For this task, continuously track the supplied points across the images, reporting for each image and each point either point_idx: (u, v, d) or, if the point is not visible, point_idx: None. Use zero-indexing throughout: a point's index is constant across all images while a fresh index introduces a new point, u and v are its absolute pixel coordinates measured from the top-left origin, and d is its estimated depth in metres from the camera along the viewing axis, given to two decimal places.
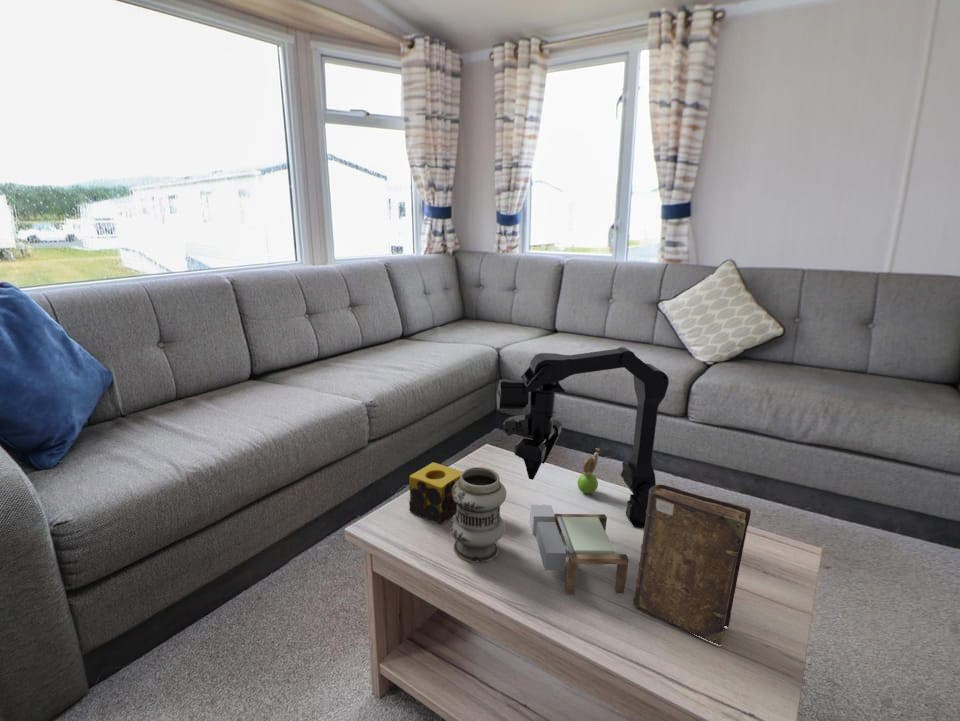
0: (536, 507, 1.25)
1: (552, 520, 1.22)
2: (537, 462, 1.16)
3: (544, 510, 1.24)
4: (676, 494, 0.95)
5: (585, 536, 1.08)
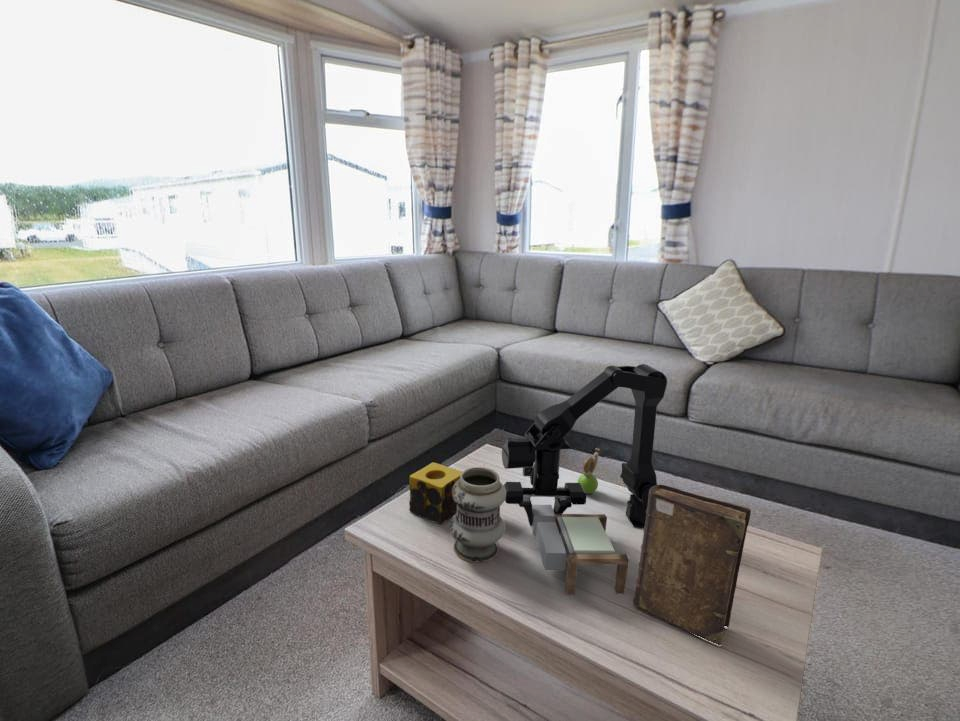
0: (536, 507, 1.25)
1: (552, 520, 1.22)
2: None
3: (544, 510, 1.23)
4: (676, 494, 0.95)
5: (585, 536, 1.08)
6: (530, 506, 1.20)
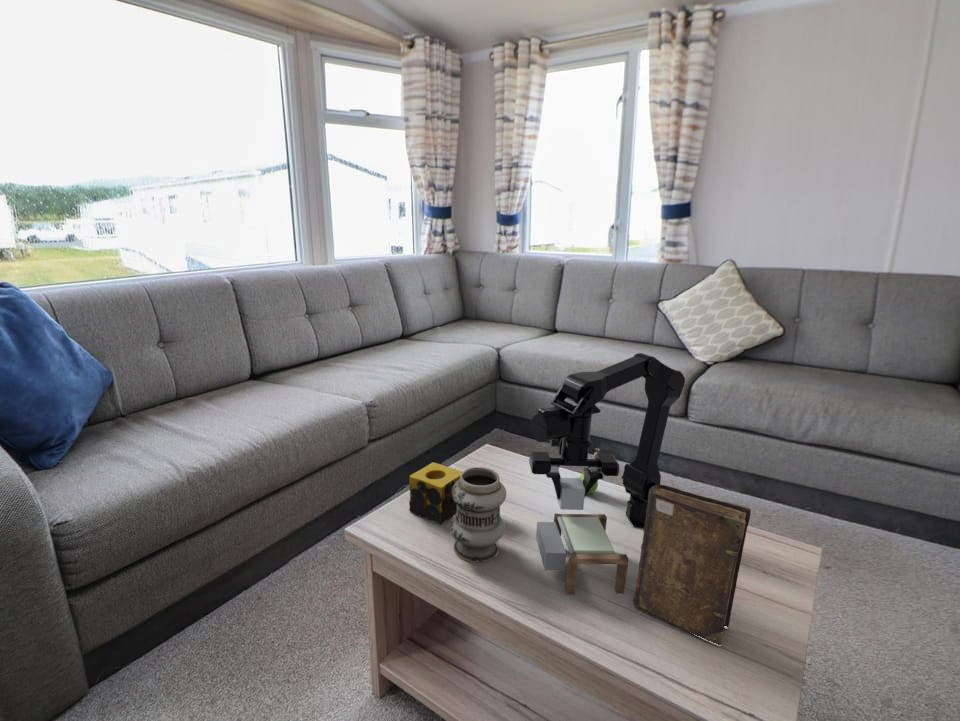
0: (564, 480, 1.16)
1: (582, 493, 1.13)
2: None
3: (572, 483, 1.15)
4: (676, 494, 0.95)
5: (585, 536, 1.08)
6: (558, 477, 1.11)
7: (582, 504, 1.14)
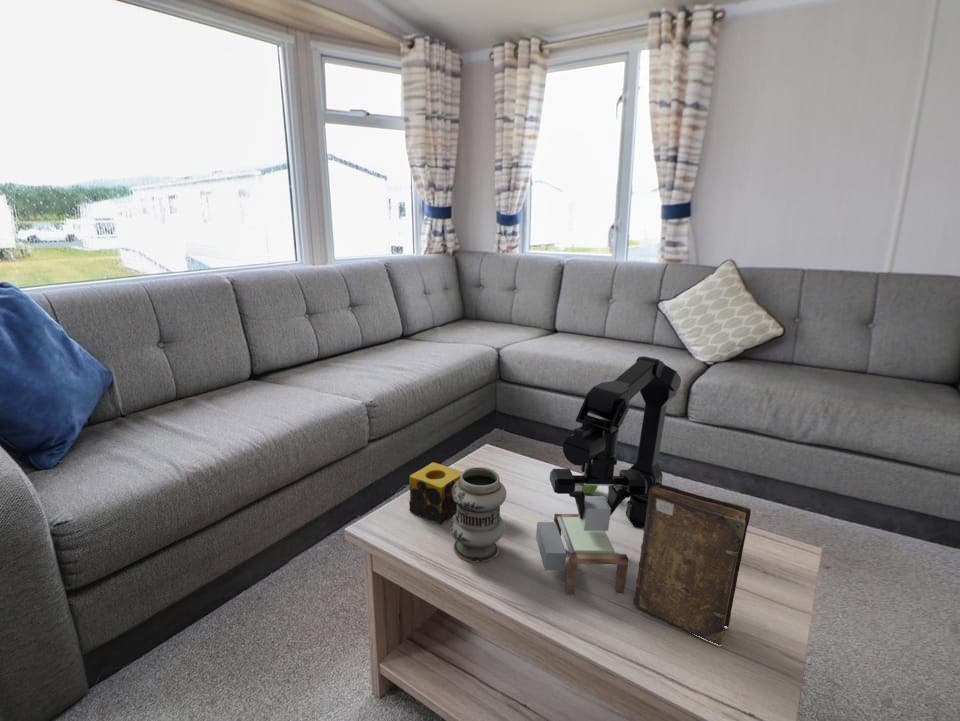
0: (587, 498, 1.09)
1: (607, 513, 1.05)
2: None
3: (596, 502, 1.07)
4: (676, 494, 0.95)
5: (585, 536, 1.08)
6: (583, 496, 1.04)
7: (607, 525, 1.06)
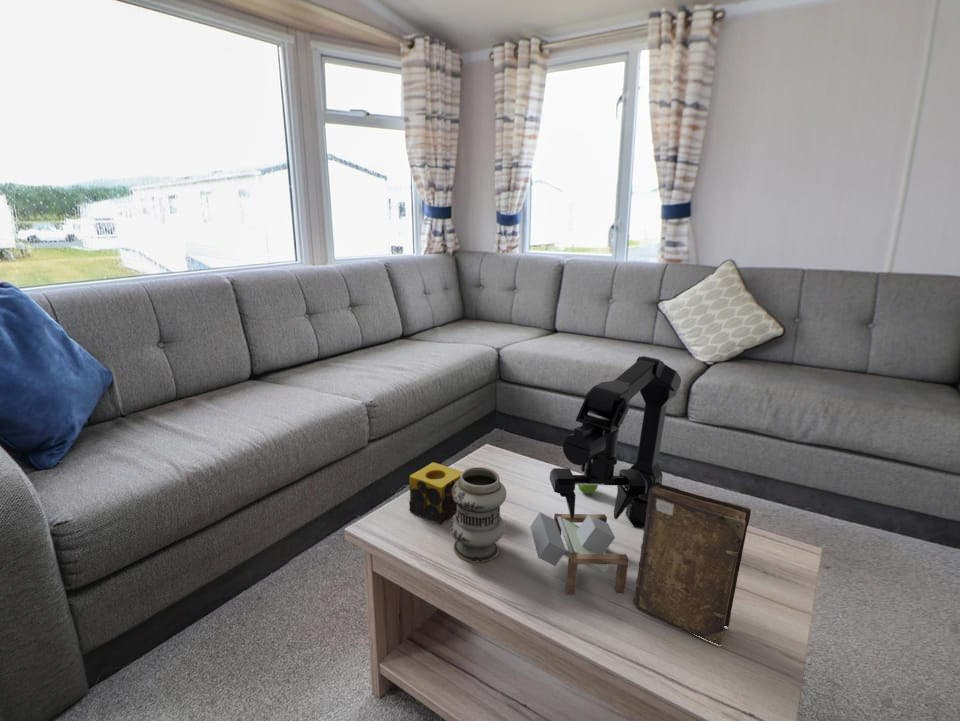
0: (594, 519, 1.10)
1: (610, 540, 1.07)
2: None
3: (603, 526, 1.09)
4: (676, 494, 0.95)
5: None
6: (573, 496, 1.03)
7: (604, 550, 1.08)
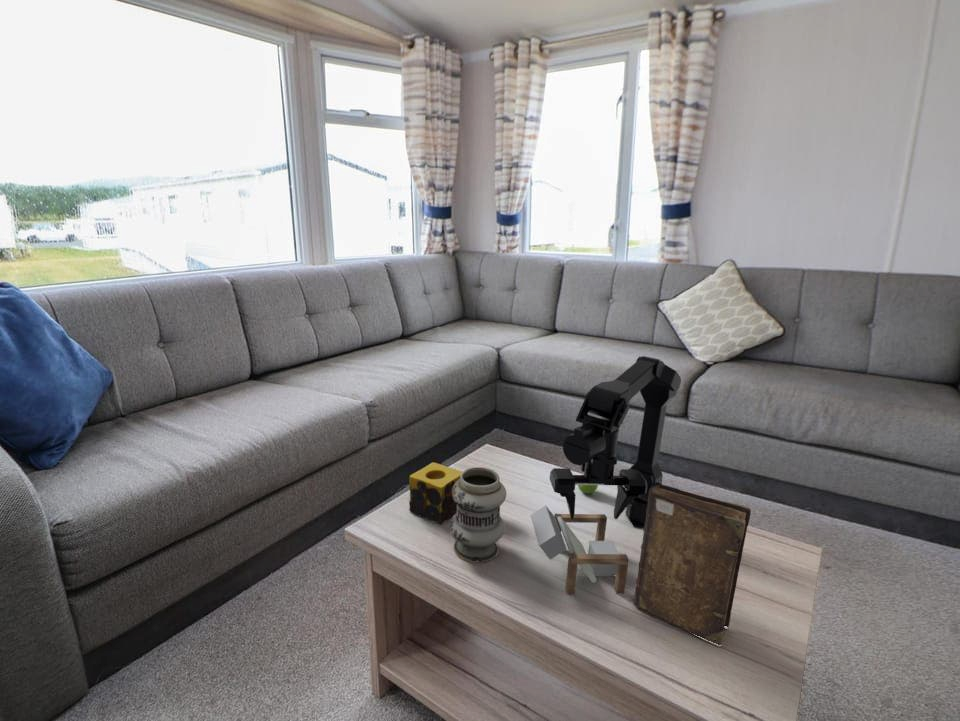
0: None
1: (612, 573, 1.09)
2: None
3: None
4: (676, 494, 0.95)
5: (578, 549, 1.09)
6: (573, 496, 1.03)
7: (599, 574, 1.09)
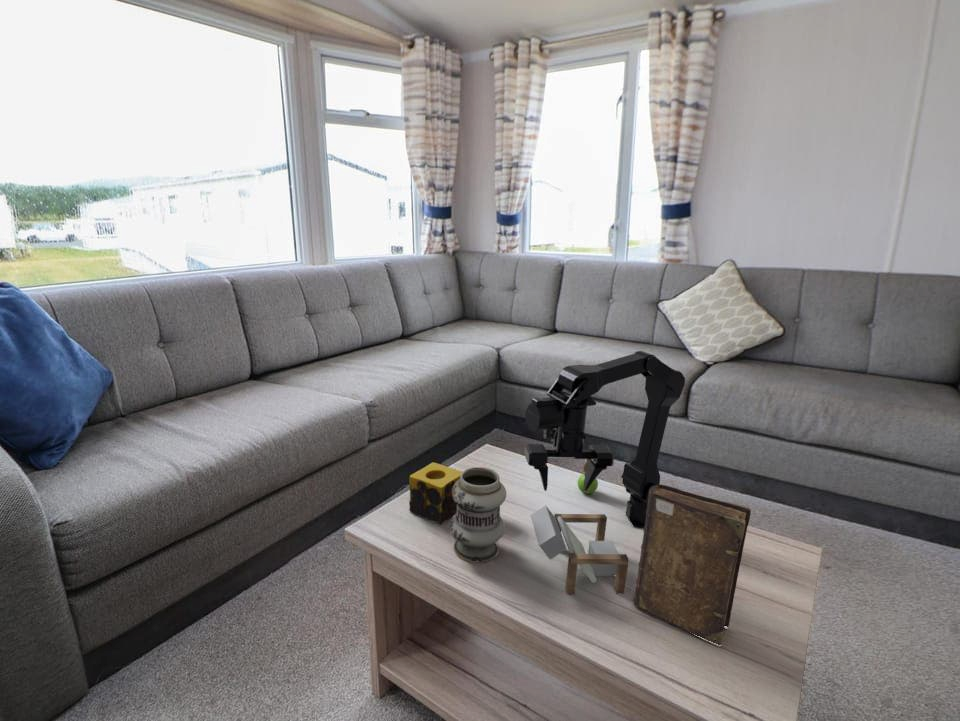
0: None
1: (612, 573, 1.09)
2: None
3: None
4: (676, 494, 0.95)
5: (578, 549, 1.09)
6: (546, 468, 1.12)
7: (599, 574, 1.09)
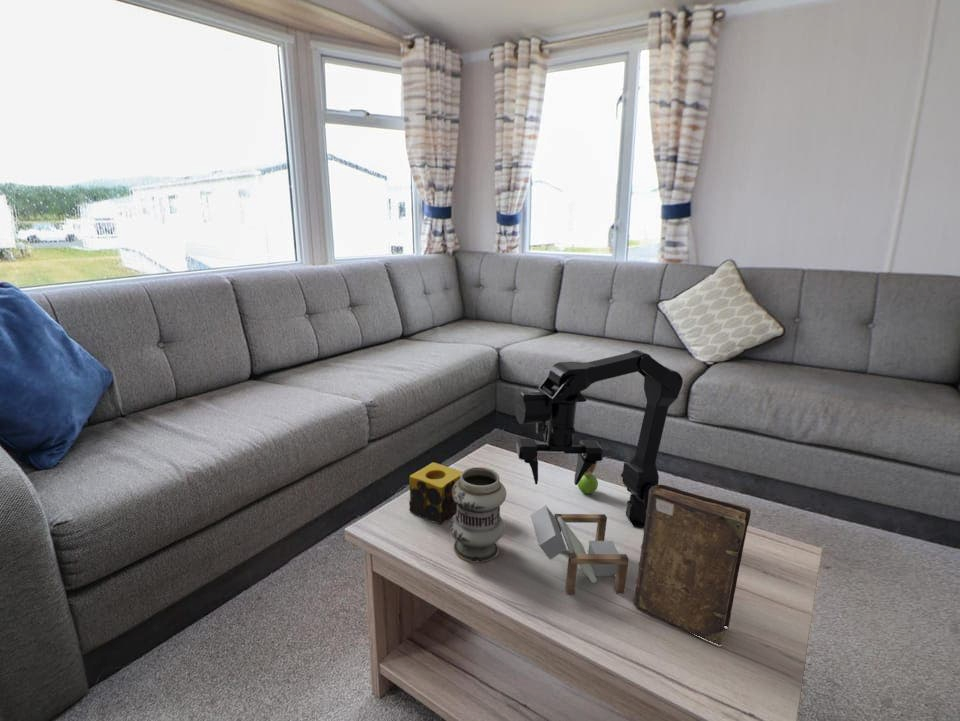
0: None
1: (612, 573, 1.09)
2: None
3: None
4: (676, 494, 0.95)
5: (578, 549, 1.09)
6: (536, 462, 1.15)
7: (599, 574, 1.09)
